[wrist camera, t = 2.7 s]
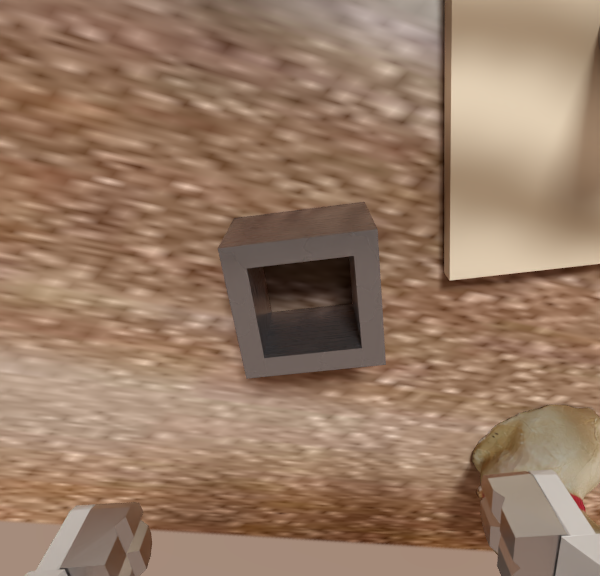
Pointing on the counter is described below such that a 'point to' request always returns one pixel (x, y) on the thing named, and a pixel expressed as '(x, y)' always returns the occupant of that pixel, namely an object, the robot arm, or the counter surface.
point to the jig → (521, 136)
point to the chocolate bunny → (546, 448)
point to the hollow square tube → (314, 321)
